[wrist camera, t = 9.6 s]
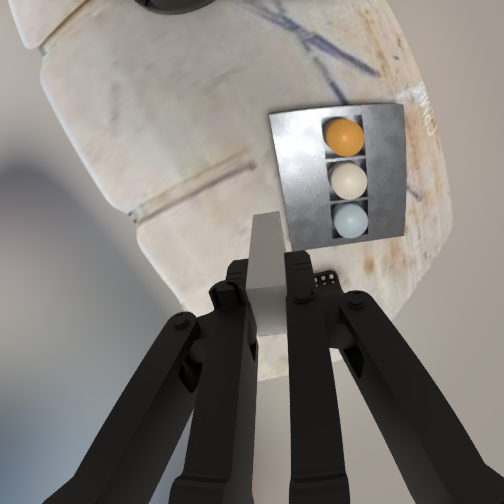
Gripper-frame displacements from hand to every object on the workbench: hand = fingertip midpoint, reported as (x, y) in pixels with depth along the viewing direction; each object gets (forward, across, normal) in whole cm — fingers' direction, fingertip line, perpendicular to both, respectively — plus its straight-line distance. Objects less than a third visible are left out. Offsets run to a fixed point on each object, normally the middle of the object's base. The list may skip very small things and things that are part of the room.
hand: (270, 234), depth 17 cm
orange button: (+23, +10, +1) cm, 25 cm away
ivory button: (+23, +10, -5) cm, 26 cm away
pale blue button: (+22, +10, -11) cm, 27 cm away
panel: (+24, +10, -5) cm, 27 cm away
